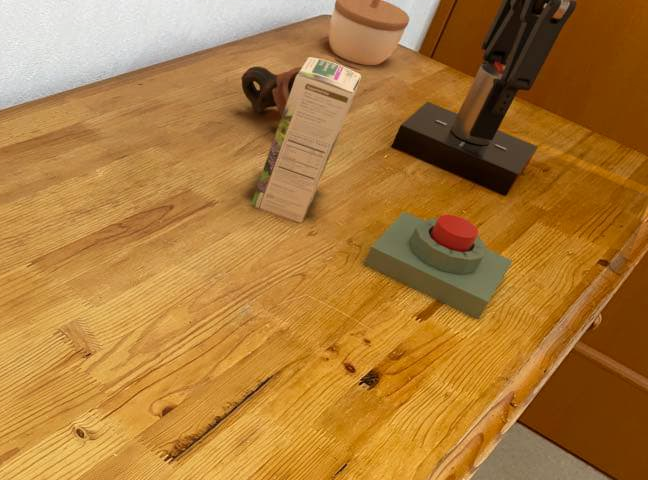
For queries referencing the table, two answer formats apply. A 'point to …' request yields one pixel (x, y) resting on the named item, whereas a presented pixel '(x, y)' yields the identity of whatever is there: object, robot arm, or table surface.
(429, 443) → the table surface
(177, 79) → the table surface
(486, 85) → the knob
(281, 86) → the pottery mug
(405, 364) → the table surface
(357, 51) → the trinket box
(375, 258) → the red push button box
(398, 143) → the panel
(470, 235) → the button
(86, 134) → the table surface
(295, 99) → the syrup box
